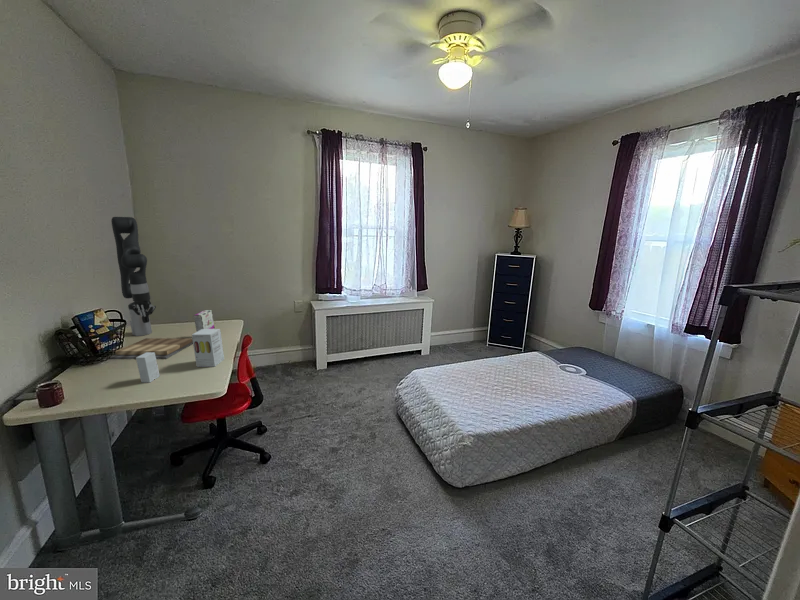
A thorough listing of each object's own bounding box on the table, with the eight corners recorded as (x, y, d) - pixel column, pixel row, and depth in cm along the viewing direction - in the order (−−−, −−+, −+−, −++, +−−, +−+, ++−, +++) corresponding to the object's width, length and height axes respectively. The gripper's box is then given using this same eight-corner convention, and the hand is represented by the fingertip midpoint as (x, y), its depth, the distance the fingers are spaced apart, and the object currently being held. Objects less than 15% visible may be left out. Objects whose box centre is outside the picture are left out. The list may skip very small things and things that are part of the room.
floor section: (110, 358, 173) (109, 353, 172) (146, 342, 196) (145, 337, 196) (166, 358, 172) (165, 353, 171) (195, 342, 195) (194, 337, 195)
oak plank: (116, 354, 175) (115, 351, 175) (131, 347, 185) (131, 344, 185) (167, 354, 174) (166, 351, 174) (180, 348, 184) (179, 344, 183)
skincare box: (151, 376, 152) (146, 352, 149) (160, 376, 152) (155, 352, 149) (140, 382, 146) (135, 357, 144) (149, 382, 146) (144, 357, 143)
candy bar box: (208, 335, 208) (204, 309, 205) (216, 335, 208) (212, 309, 205) (197, 341, 198) (193, 314, 194) (205, 341, 197) (201, 314, 194)
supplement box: (195, 367, 161) (190, 334, 158) (206, 359, 170) (201, 328, 167) (215, 366, 162) (210, 334, 158) (225, 359, 171) (220, 328, 167)
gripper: (157, 290, 180) (162, 320, 184) (134, 289, 181) (140, 320, 185) (146, 293, 173) (152, 325, 177) (122, 293, 173) (128, 324, 178)
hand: (146, 322), depth 181 cm, fingers closed
